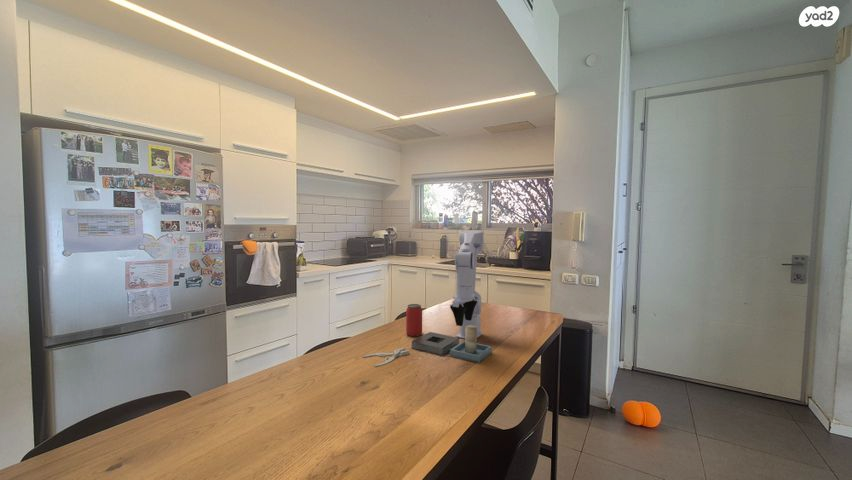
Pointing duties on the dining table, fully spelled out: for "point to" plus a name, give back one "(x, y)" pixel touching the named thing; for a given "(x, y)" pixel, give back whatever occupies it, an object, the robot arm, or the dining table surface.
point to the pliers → (395, 353)
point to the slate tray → (478, 357)
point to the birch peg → (471, 339)
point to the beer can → (414, 320)
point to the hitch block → (435, 343)
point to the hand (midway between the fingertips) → (463, 322)
